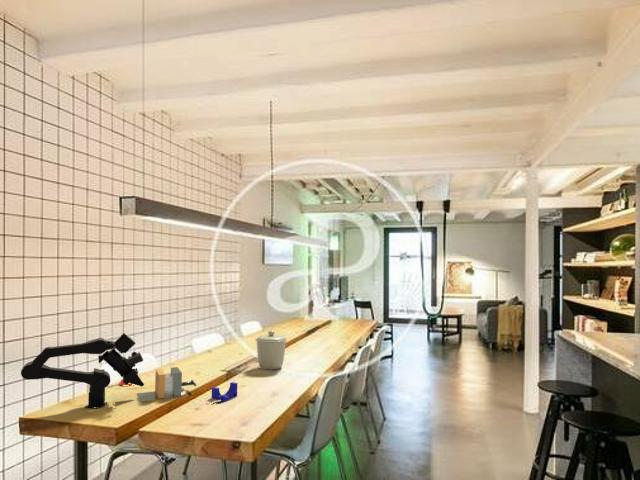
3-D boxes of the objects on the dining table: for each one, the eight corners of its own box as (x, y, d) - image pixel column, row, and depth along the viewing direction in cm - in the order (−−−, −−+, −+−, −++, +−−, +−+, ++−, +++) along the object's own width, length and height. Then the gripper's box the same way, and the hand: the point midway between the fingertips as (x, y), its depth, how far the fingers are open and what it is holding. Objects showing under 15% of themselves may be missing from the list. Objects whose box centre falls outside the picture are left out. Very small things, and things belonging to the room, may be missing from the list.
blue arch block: (218, 404, 188) (218, 389, 188) (211, 402, 191) (211, 387, 191) (239, 397, 198) (239, 383, 198) (232, 395, 200) (232, 382, 201)
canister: (249, 370, 248) (250, 332, 249) (263, 363, 265) (263, 327, 266) (279, 372, 243) (279, 333, 244) (291, 365, 260) (291, 329, 261)
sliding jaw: (158, 398, 189) (158, 375, 189) (155, 391, 200) (155, 369, 200) (164, 397, 190) (165, 374, 191) (160, 390, 201) (161, 368, 201)
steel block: (163, 396, 192) (164, 377, 193) (161, 392, 198) (162, 374, 199) (173, 395, 194) (173, 376, 194) (170, 391, 200) (171, 373, 201)
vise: (139, 405, 185) (140, 377, 186) (136, 396, 197) (137, 370, 197) (197, 397, 196) (197, 371, 196) (191, 390, 207) (192, 365, 208)
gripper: (133, 350, 182) (160, 375, 187) (130, 343, 199) (155, 366, 203) (111, 371, 178) (139, 397, 182) (110, 362, 195) (135, 385, 199)
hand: (143, 385), depth 192 cm, fingers closed
